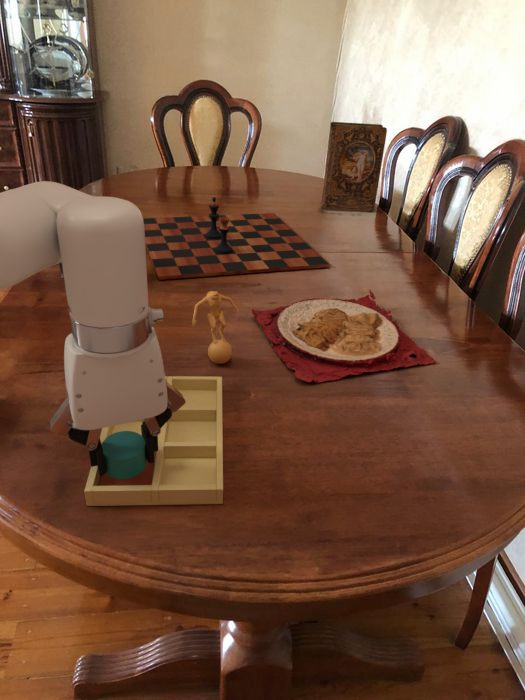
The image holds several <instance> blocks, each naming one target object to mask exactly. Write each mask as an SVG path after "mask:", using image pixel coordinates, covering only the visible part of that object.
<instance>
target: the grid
mask: <svg viewBox="0 0 525 700" xmlns="http://www.w3.org/2000/svg"><path fill="white" fill-rule="evenodd" d="M165 379H166V381H167V382H168V383H169V384H170V385H172V386H173V387H174V388H175V389H176V390H178V391H179V392H180V393H181V394H182V395H183V397H184V399H185V404H184V405H183V406H182V407H181V408H180V409H178V410H177V411H176V412H175V413H173V414H172V417H171V418H170V419H169V420H168V421H167V422H166V423H165V424H164V425H163V427H162V428H161V432H160V434H159V435H158V451H156V452H154V460H155V462H154V463H151V464H150V463H148V461H147V465H146V467H145V469H144V470H143V471H142V472H141V473H140V474H139V475H137V476H135V477H132V478H129V479H115V478H112V477H110V476H108V475H107V474H106V473H105V474H104V475H102V476H100V475H99V471H98V467H97V466H93V467H91V466H90V470H89V473H88V476H87V480H86V484H85V487H84V490H83V492H84V498H85V503H86V507H107V506H108V507H110V506H111V507H112V506H113V507H114V506H115V507H116V506H117V507H118V506H165V505H166V506H174V505H175V506H176V505H178V506H180V505H223V504H224V442H223V441H224V438H223V437H224V433H223V431H224V430H223V427H224V426H223V423H224V422H223V376H207V375H206V376H204V375H203V376H200V375H199V376H197V375H196V376H195V375H194V376H193V375H190V376H189V375H185V376H184V375H172V376H171V375H170V376H169V375H165ZM142 422H144V419H142V420H137V421H133V422H128V423H124V424H119V425H114V426H110V427H105V428H102V429H101V433H100V441H101V444H102V442H103V441H104V440H105V439H106V438H107V437H108V436H110V435H111V434H114V433H116V432H120V431H132V432H136V433H138V434H140V435H141V436H142V433H141V425H142Z"/></svg>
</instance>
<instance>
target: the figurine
mask: <svg viewBox="0 0 525 700" xmlns="http://www.w3.org/2000/svg"><path fill="white" fill-rule="evenodd" d="M222 301H227V302H229V304H231V306H232V307H233V310H235V311H236V312H237V315H238V317H239V318H241V313H240V310H239V308H238V307H237V305H236V304H235V303H234V301H233V299H232V298H231V297H229V296H225V295H223V294H222V293H221V294H220V293H219V292H218V291H214V290H211V291H208V292H207V293H206V296H204V297H203V298H202V299H201V300H200V301H198V302H197V303H196V304H195V305H194V308H193V309H194V310H193V313H192V314H193V315H192V323H191V324H192V325H191V326H194V327H195V326H196V325H197V324H196V323H198V321H197V320H196V318H197V315H198V308H199V307H201V306H202V305H204V304H206V303H207V306H208V308H209V310H210V312H209V313H207V319H208V323H209V326H210V327H211V328H210V332H211V336H212V341H211V343H210V344H209V346H208V348H207V355H208V358H209V359H210V360H211V362H213V363H215V364H218V365H222V364H226V363H227V362H228V361H230V360H231V358H232V355H233V348H232V345H231V344H230V343H229V342H228V341H227V339H226V338H225V336H224V333H223V331H224V330H225V328H226V327H227V322H226V319H225V316H224V311H223V310H220V309H221V305H222ZM217 320H218V323H219V324H220V325H221V326H219V335H220V338H219V339H217V337H216V333H215V332H216V328H217V327H216V326H217ZM196 327H197V326H196Z"/></svg>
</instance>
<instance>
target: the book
mask: <svg viewBox="0 0 525 700" xmlns="http://www.w3.org/2000/svg"><path fill="white" fill-rule="evenodd" d="M387 133H388V129H387V127H385V126H383V124H381V123H380V124H379V123H362V122H361V123H360V122H345V121H344V122H343V121H331V122H330V125H329V133H328V141H327V150H326V160H325V169H324V176H323V177H324V178H323V186H322V195H321V203H320V209H322V210H324V211H336V212H338V211H339V212H355V213H356V212H358V213H359V212H360V213H372V212H373V211H374V210H375V207H376V201H377V194H378V189H379V182H380V178H381V177H380V176H381V171H382V166H383V165H382V164H383V159H384V152H385V146H386V139H387Z"/></svg>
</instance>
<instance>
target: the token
mask: <svg viewBox="0 0 525 700" xmlns="http://www.w3.org/2000/svg"><path fill="white" fill-rule="evenodd" d="M102 448H103V454H104V462H105V470H106V474H107V475H108V476H110V477H112V478H115V479H129V478H132V477H135V476H137V475H139V474H140V473H141V472H142V471H143V470H144V469H145V467H146V465H147V457H146V443H145V440H144V438H143V437H142V436H141V435H140V434H138V433H136V432H132V431H120V432H116V433H114V434H111V435H110V436H108V437H107V438H106V439H105V440H104V441H103V442H102Z"/></svg>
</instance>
